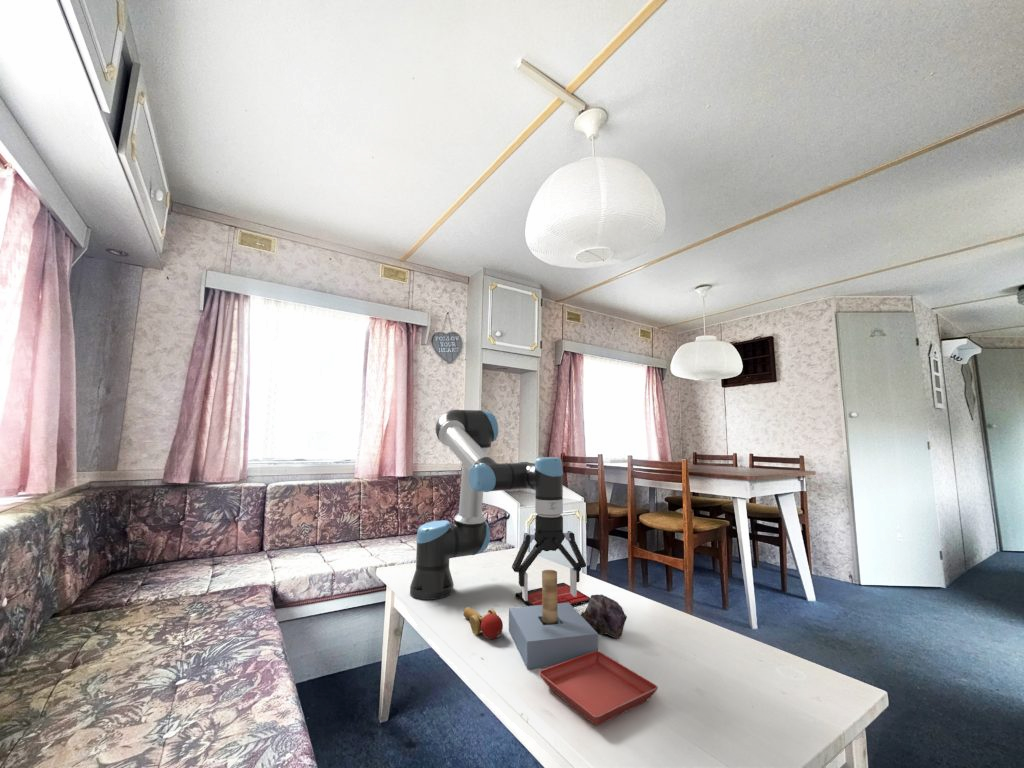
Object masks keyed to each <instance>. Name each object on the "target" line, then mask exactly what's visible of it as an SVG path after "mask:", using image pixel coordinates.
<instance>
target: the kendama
mask: <svg viewBox="0 0 1024 768" xmlns="http://www.w3.org/2000/svg"><path fill="white" fill-rule="evenodd" d="M463 617H464V618H465V619H468V620H469V625H470V628H471V631H472V633H473V634H474V635H475V636H477V635H480V634H481V633H482V635H483V636H484V637H485V638H487V639H488V640H494V639H497V638H498V637H499V636H500V635H501V634H502V632H503V629H504V625H503V621H502V619H501V617H500V616H499V615H498V614H497V612H496V611H495V609H493V608H492V609H489V610H488V611H487V613H486V614H485V615H483V616H482V615H481V614H480V613H479V612H477V610H475V609H473V608H472V607H470V606H467V607H465V608H464V610H463Z"/></svg>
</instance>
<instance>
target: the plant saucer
mask: <svg viewBox="0 0 1024 768" xmlns="http://www.w3.org/2000/svg"><path fill="white" fill-rule="evenodd" d="M538 673H539V676H540V677H541V679H542V680H543V681H544V683H545V685H547V686H548V688H549V689H551V691H553V692H554V693H555V694H556V695H558V696H559V697H561V699H562V700H564V701H565V702H566V703H568V704H569V705H570V706H571V707H573V708H574V709H575V710H576V711H577V712H578V713H580V714H581V715H582V716H583V717H585V718H586V719H587V720H588V721H590V722H591V723H592V724H593V725H595V726H599V725H601V724H604V723H605V722H607V721H610V720H612V719H613V718H615V717H617V716H619V715H621V714H623V713H625V712H627V711H630V710H631V709H633V708H635V707H637V706H640V705H641V704H643V703H645V702H647V701H648V700H649V699H650V698H651V697H652V696H653V695H654V694H655V693H656V692H657V691H658V689H659V687H658V685H656V684H655V683H654V682H652V681H650V680H648V679H646V678H645V677H643V676H641V675H640V674H638V673H636V672H635V671H634V670H631V669H630V668H628V667H627V666H625V665H623V664H621V663H619V662H618V661H616V660H614V659H613V658H612V657H610V656H607V654H605V653H603V652H601V651H599V650H598V651H593V652H591V653H588V654H585V655H582V656H579V657H577V658H574V659H571V660H568V661H566V662H563V663H560V664H557V665H554V666H549V667H545V668H543V669H541V670H539V672H538Z"/></svg>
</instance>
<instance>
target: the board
mask: <svg viewBox="0 0 1024 768" xmlns="http://www.w3.org/2000/svg"><path fill="white" fill-rule="evenodd" d="M557 609H558V624H552V625H543V623H542V605H535V606H528V605H526V606H525V605H524V606H515V607H509V608H508V632H509V634H510V636H511V638H512V640H513V643H514V644H515V646H516V648H517V651H518V653H519V655H520V657H521V659H522V661H523V663H524V665H525V668H526V669H527V670H531V669H539V668H541V669H542V668H549V667H552V666H554V665H557V664H560V663H563V662H566V661H568V660H571V659H574V658H577V657H579V656H582V655H585V654H588V653H591V652H593V651H599V632H596V631H595V630H594V629H593V628H592V627H591V626H590V625H589V624H588V622H587V621H586V620H585V619H584V618H583V617H582V616H581V614H580V613H579V612H578V611H577V610H576V609H575V608H574V606H572V605H571V604H570V603H569V602H568V603H557Z"/></svg>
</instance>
